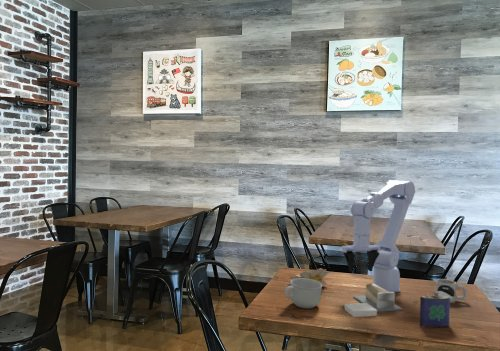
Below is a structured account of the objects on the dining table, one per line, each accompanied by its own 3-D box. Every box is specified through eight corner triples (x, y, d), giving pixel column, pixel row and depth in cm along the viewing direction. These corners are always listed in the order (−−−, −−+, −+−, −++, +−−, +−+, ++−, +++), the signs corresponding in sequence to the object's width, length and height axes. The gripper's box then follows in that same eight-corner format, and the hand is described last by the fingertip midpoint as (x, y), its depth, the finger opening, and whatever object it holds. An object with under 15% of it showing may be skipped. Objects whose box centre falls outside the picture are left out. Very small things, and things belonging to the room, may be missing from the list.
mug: (435, 300, 153) (436, 282, 153) (435, 295, 159) (436, 278, 159) (466, 305, 149) (467, 286, 149) (465, 300, 155) (466, 282, 155)
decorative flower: (320, 275, 177) (322, 253, 175) (334, 289, 167) (336, 266, 164) (287, 280, 173) (288, 258, 170) (299, 295, 162) (301, 271, 160)
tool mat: (378, 296, 157) (378, 294, 157) (401, 310, 142) (402, 308, 142) (353, 297, 155) (353, 295, 155) (375, 312, 140) (375, 310, 140)
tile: (366, 302, 144) (376, 310, 137) (366, 309, 144) (376, 316, 137) (344, 304, 142) (353, 311, 135) (344, 310, 142) (353, 318, 135)
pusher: (377, 296, 154) (377, 283, 154) (394, 307, 143) (394, 292, 143) (362, 297, 153) (362, 284, 152) (378, 308, 142) (378, 293, 142)
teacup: (311, 299, 152) (312, 276, 152) (327, 309, 142) (328, 285, 142) (276, 302, 147) (276, 280, 147) (290, 313, 137) (290, 289, 137)
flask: (446, 324, 131) (447, 289, 131) (451, 327, 128) (453, 292, 128) (417, 324, 130) (419, 289, 130) (422, 328, 127) (423, 292, 127)
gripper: (348, 236, 150) (347, 274, 150) (385, 235, 153) (384, 272, 154) (339, 233, 157) (338, 269, 157) (375, 232, 160) (373, 268, 161)
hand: (360, 270), depth 156 cm, fingers open, 7 cm apart
